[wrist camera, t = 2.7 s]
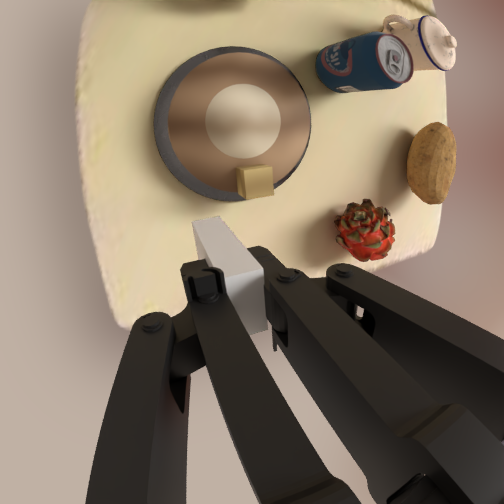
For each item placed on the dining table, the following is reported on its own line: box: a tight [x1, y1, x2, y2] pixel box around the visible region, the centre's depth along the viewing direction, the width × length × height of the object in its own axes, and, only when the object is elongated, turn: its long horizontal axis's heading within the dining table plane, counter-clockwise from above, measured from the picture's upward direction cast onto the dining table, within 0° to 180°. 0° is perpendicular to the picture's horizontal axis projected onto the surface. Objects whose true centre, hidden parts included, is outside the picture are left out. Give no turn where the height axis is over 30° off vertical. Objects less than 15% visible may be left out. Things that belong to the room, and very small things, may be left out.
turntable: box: [168, 52, 310, 200], centre depth 27 cm, size 16×16×5 cm
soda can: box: [316, 32, 414, 93], centre depth 26 cm, size 7×7×12 cm
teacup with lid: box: [382, 15, 457, 71], centre depth 26 cm, size 12×9×12 cm
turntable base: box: [154, 46, 311, 201], centre depth 30 cm, size 19×19×1 cm
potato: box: [407, 122, 456, 204], centre depth 38 cm, size 10×14×8 cm
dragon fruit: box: [334, 199, 395, 262], centre depth 39 cm, size 8×8×12 cm
